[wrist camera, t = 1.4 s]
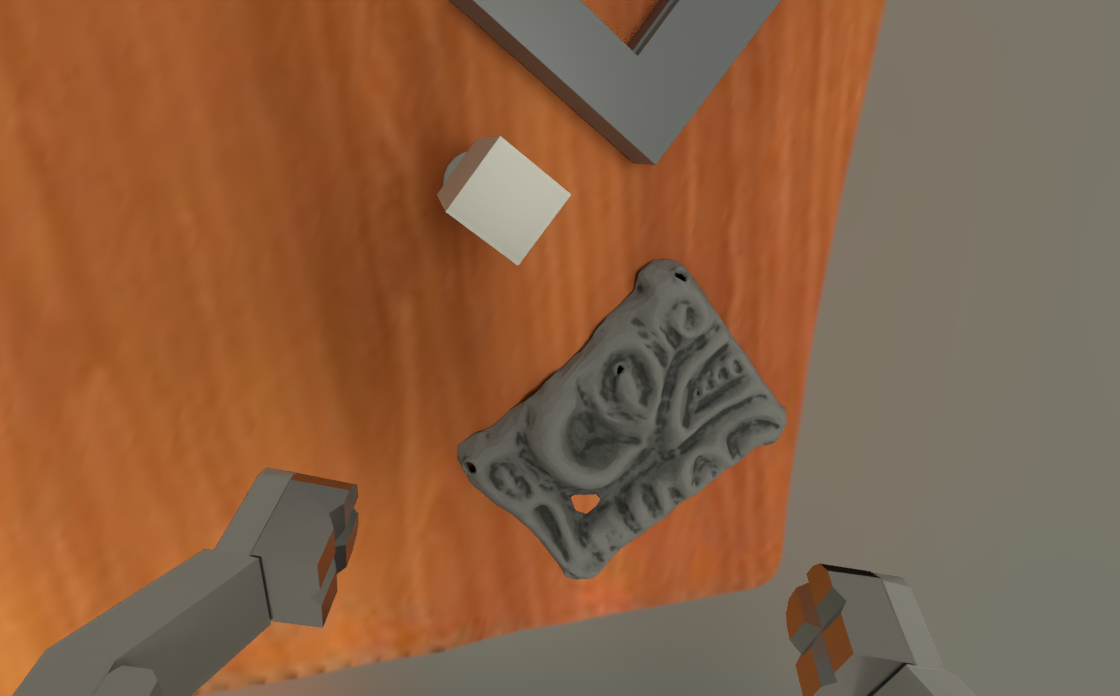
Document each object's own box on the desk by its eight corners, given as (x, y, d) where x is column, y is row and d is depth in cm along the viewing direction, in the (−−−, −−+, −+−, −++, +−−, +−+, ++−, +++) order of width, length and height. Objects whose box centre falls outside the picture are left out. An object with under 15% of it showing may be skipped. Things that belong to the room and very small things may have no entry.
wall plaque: (666, 243, 48) (687, 250, 44) (784, 412, 55) (811, 431, 51) (429, 440, 48) (430, 464, 45) (576, 583, 55) (587, 613, 52)
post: (482, 229, 44) (518, 272, 29) (429, 189, 42) (438, 212, 27) (520, 178, 43) (577, 193, 28) (468, 136, 42) (499, 128, 27)
